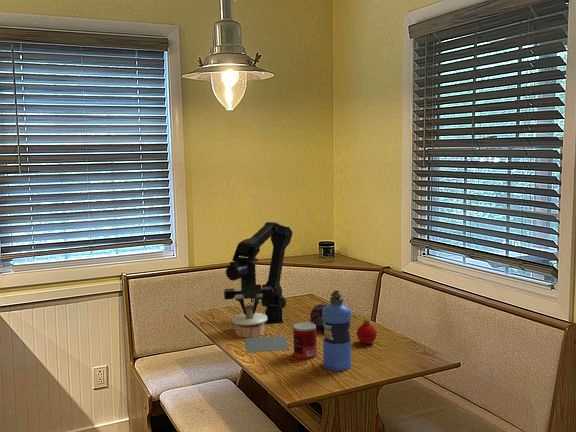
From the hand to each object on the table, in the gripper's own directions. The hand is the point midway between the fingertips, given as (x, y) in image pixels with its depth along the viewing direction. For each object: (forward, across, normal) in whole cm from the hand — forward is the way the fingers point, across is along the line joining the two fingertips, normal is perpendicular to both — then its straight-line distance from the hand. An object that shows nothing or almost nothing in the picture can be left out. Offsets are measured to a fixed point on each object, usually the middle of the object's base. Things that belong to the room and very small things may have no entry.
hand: (249, 314), depth 226 cm
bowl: (+8, 0, 0) cm, 8 cm away
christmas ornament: (+8, +41, -19) cm, 46 cm away
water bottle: (+8, +26, -38) cm, 47 cm away
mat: (+8, +5, -14) cm, 17 cm away
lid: (+2, 0, 0) cm, 2 cm away
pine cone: (+8, +29, 0) cm, 30 cm away
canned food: (+8, +17, -28) cm, 34 cm away
